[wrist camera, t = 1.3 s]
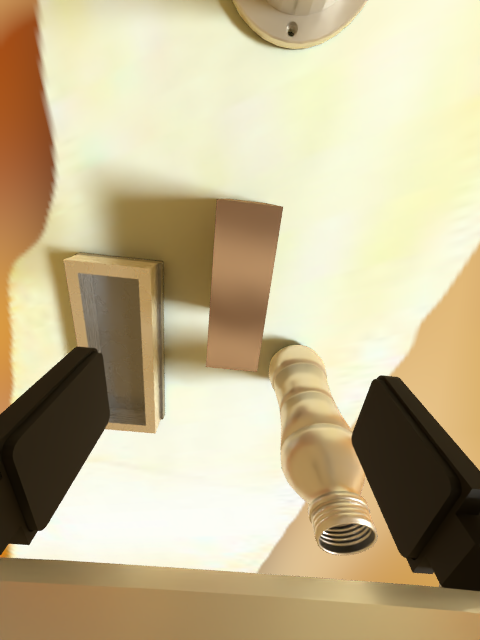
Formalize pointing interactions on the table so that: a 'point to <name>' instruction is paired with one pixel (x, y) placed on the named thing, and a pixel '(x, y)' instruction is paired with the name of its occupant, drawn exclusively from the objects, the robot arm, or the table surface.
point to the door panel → (241, 281)
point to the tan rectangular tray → (123, 332)
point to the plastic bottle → (320, 453)
